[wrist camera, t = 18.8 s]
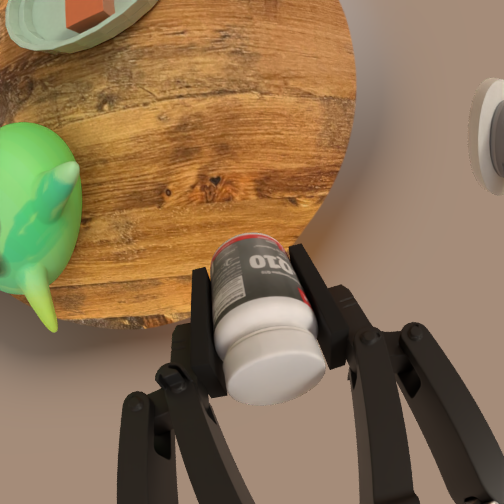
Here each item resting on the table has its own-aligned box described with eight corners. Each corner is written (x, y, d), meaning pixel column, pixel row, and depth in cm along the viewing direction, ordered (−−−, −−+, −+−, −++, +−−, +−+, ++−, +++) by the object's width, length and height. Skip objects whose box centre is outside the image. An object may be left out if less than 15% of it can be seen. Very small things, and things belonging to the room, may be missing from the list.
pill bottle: (301, 254, 17) (358, 362, 10) (254, 304, 19) (282, 414, 12) (241, 215, 15) (274, 329, 8) (194, 274, 17) (195, 397, 10)
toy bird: (14, 107, 19) (-71, 132, 6) (127, 132, 25) (61, 164, 12) (3, 234, 26) (-52, 297, 14) (97, 268, 32) (60, 354, 20)
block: (113, -7, 15) (101, -19, 11) (116, 20, 17) (103, 10, 14) (79, 7, 15) (64, -2, 11) (82, 34, 17) (65, 28, 13)
